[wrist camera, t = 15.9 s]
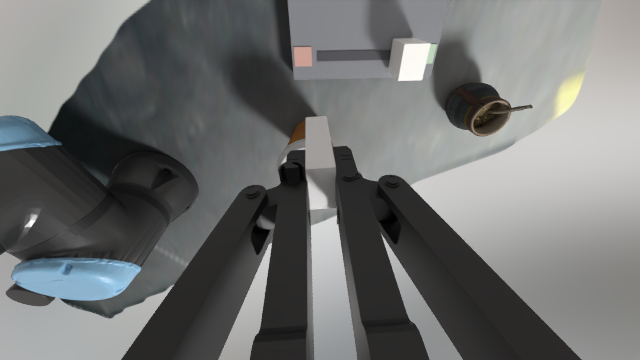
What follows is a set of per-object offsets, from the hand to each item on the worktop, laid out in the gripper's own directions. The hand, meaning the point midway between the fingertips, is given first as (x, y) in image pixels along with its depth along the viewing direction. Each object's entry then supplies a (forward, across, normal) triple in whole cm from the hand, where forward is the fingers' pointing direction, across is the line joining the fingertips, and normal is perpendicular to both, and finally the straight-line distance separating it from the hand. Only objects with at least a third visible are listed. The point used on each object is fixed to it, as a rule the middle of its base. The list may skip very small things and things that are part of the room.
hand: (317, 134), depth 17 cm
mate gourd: (+23, -25, +6) cm, 35 cm away
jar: (+26, +69, +43) cm, 85 cm away
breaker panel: (+23, -8, -6) cm, 25 cm away
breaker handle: (+19, -12, -1) cm, 23 cm away
